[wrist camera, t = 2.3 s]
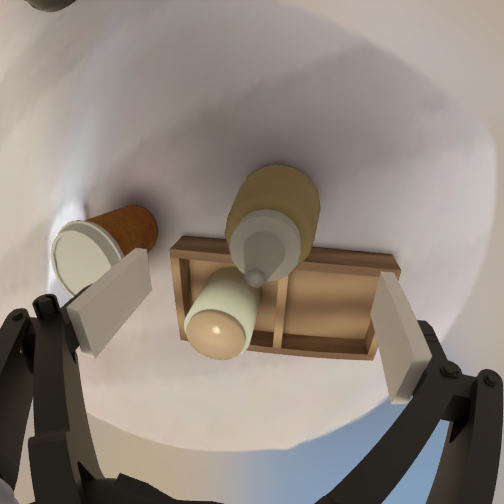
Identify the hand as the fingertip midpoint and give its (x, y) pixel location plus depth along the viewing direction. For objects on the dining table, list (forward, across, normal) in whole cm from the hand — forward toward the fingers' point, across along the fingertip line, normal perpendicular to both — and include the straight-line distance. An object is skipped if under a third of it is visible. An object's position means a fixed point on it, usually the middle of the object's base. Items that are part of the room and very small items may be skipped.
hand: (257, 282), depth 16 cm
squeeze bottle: (+18, 0, 0) cm, 18 cm away
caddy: (+18, +1, -12) cm, 21 cm away
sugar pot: (+17, -5, -12) cm, 21 cm away
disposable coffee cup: (+18, -18, -4) cm, 26 cm away
